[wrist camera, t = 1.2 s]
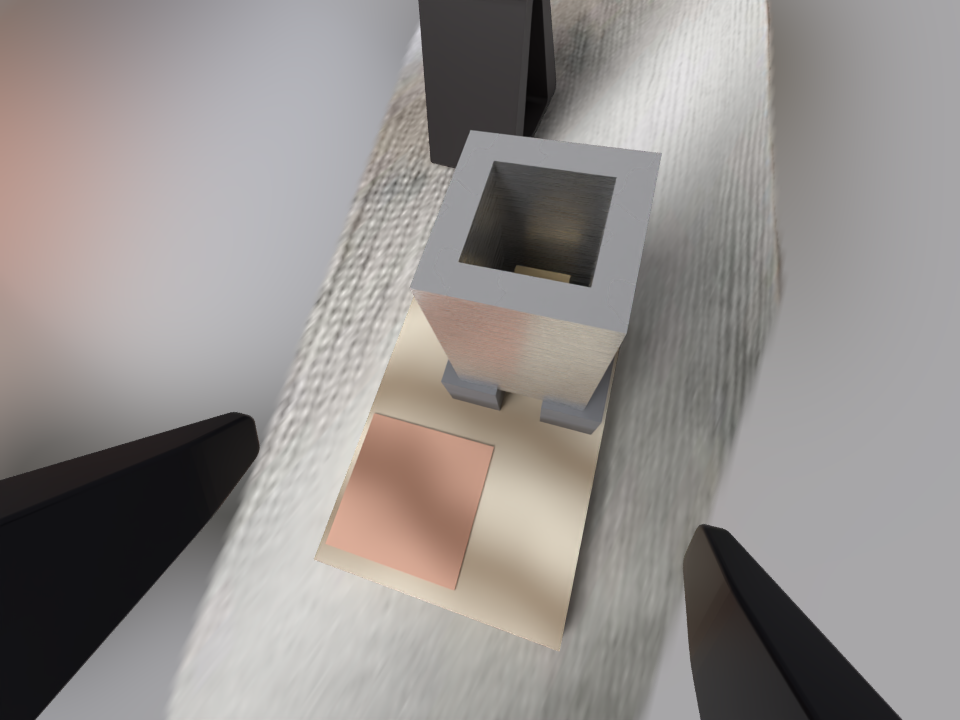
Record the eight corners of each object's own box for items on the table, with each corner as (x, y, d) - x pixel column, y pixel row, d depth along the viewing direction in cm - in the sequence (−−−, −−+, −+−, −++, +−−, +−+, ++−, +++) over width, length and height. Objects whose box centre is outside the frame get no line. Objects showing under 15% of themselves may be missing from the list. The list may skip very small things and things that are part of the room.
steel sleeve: (583, 410, 17) (626, 333, 9) (459, 379, 18) (409, 287, 10) (607, 297, 18) (661, 153, 11) (493, 275, 19) (470, 130, 12)
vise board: (557, 640, 18) (578, 746, 10) (328, 555, 20) (198, 588, 12) (621, 320, 23) (670, 220, 15) (430, 281, 25) (383, 176, 17)
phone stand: (480, 75, 31) (452, -174, 19) (556, 88, 29) (573, -171, 18) (431, 164, 28) (366, -61, 17) (512, 184, 27) (499, -47, 16)
